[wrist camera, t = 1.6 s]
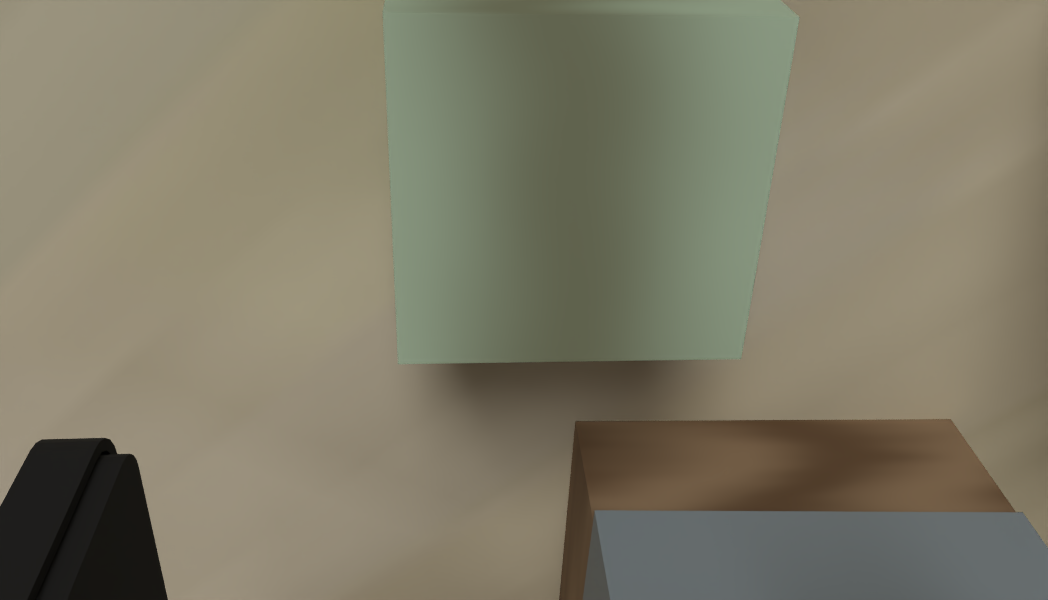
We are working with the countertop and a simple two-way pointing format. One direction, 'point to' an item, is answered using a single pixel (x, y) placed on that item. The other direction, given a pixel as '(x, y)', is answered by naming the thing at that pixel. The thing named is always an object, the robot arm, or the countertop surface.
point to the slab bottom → (767, 472)
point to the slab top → (814, 556)
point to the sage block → (580, 174)
